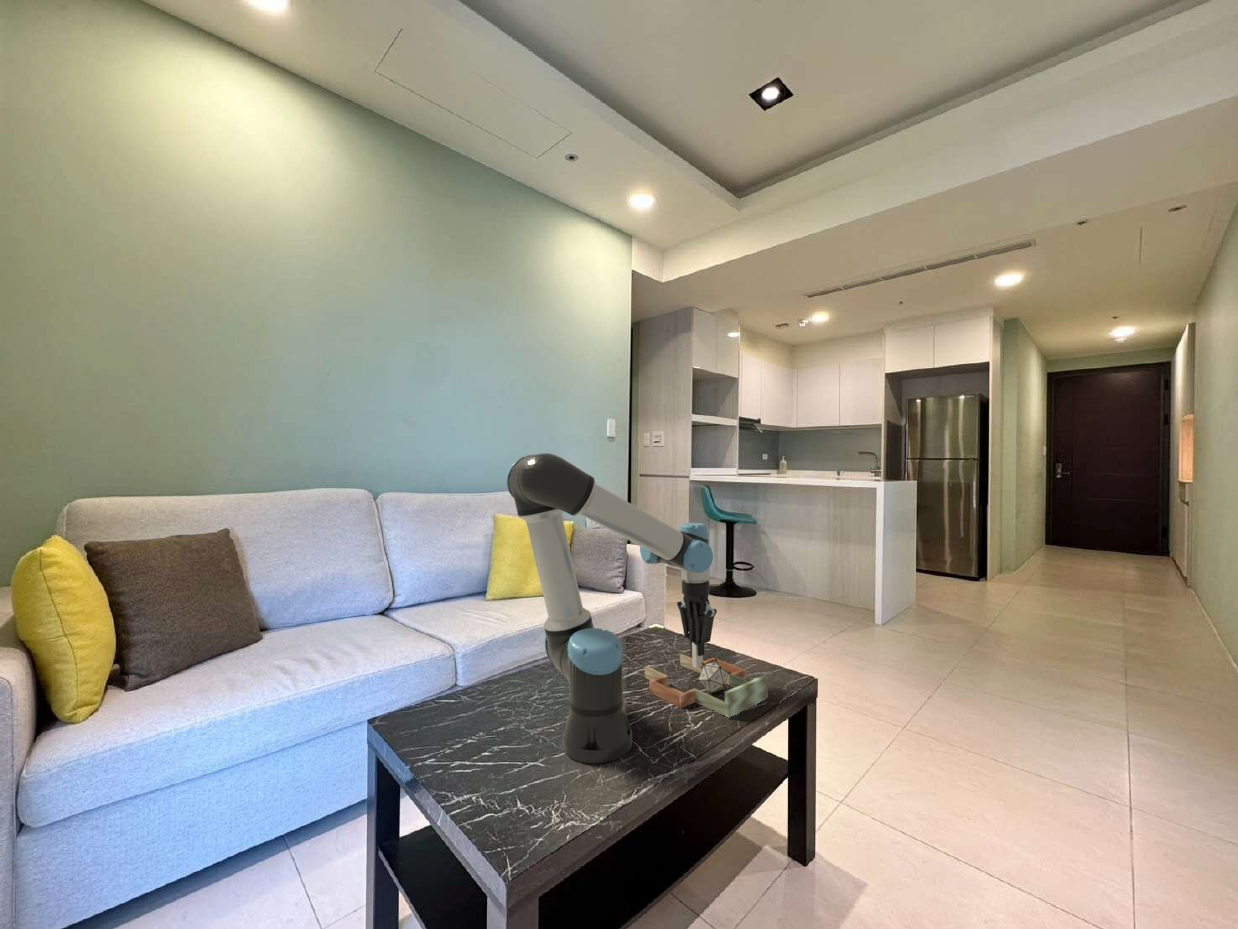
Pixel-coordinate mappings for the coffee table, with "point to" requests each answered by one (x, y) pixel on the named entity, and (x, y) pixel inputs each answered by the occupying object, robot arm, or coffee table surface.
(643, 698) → the coffee table surface
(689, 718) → the coffee table surface
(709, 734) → the coffee table surface
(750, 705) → the trap box
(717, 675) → the game die
